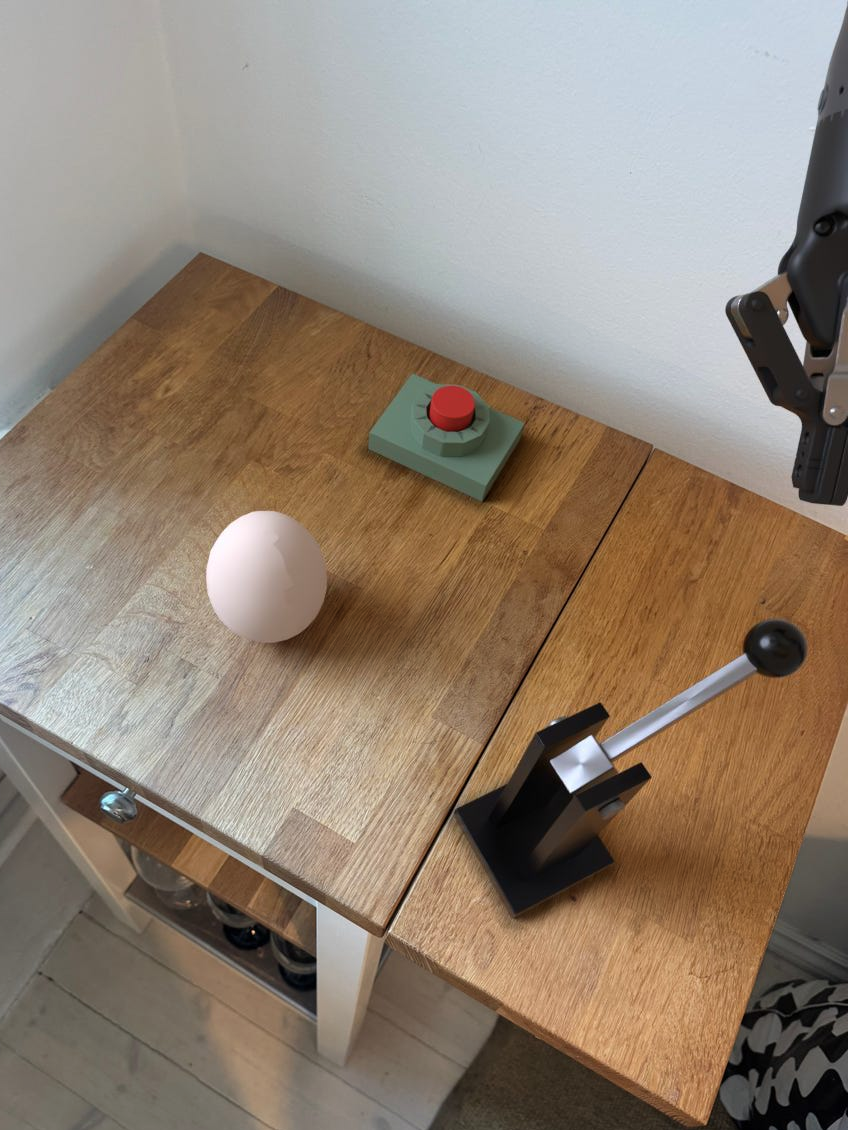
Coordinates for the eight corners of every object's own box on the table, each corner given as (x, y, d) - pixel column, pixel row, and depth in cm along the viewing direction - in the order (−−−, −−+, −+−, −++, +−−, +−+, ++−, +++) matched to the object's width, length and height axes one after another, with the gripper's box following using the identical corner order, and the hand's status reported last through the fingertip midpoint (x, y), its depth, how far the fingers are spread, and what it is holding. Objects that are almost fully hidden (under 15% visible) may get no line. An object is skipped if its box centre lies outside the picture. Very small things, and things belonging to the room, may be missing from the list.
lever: (780, 616, 52) (783, 600, 49) (818, 662, 50) (822, 648, 47) (553, 759, 54) (542, 751, 51) (583, 807, 53) (574, 801, 50)
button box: (410, 390, 84) (414, 357, 80) (520, 440, 82) (529, 408, 78) (368, 449, 80) (370, 417, 77) (482, 502, 78) (490, 471, 75)
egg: (304, 558, 74) (305, 465, 64) (341, 647, 71) (347, 564, 61) (199, 586, 72) (182, 496, 62) (231, 680, 69) (218, 600, 59)
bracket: (548, 767, 67) (611, 667, 53) (610, 866, 64) (695, 787, 50) (452, 814, 65) (493, 723, 51) (511, 919, 61) (572, 851, 48)
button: (440, 393, 79) (443, 379, 77) (478, 410, 78) (482, 395, 77) (421, 421, 77) (424, 406, 76) (460, 438, 77) (463, 424, 75)
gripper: (799, 77, 38) (716, 500, 43) (1116, 110, 38) (999, 527, 43) (731, 125, 45) (667, 482, 50) (998, 153, 45) (909, 505, 50)
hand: (821, 502), depth 46 cm, fingers closed
